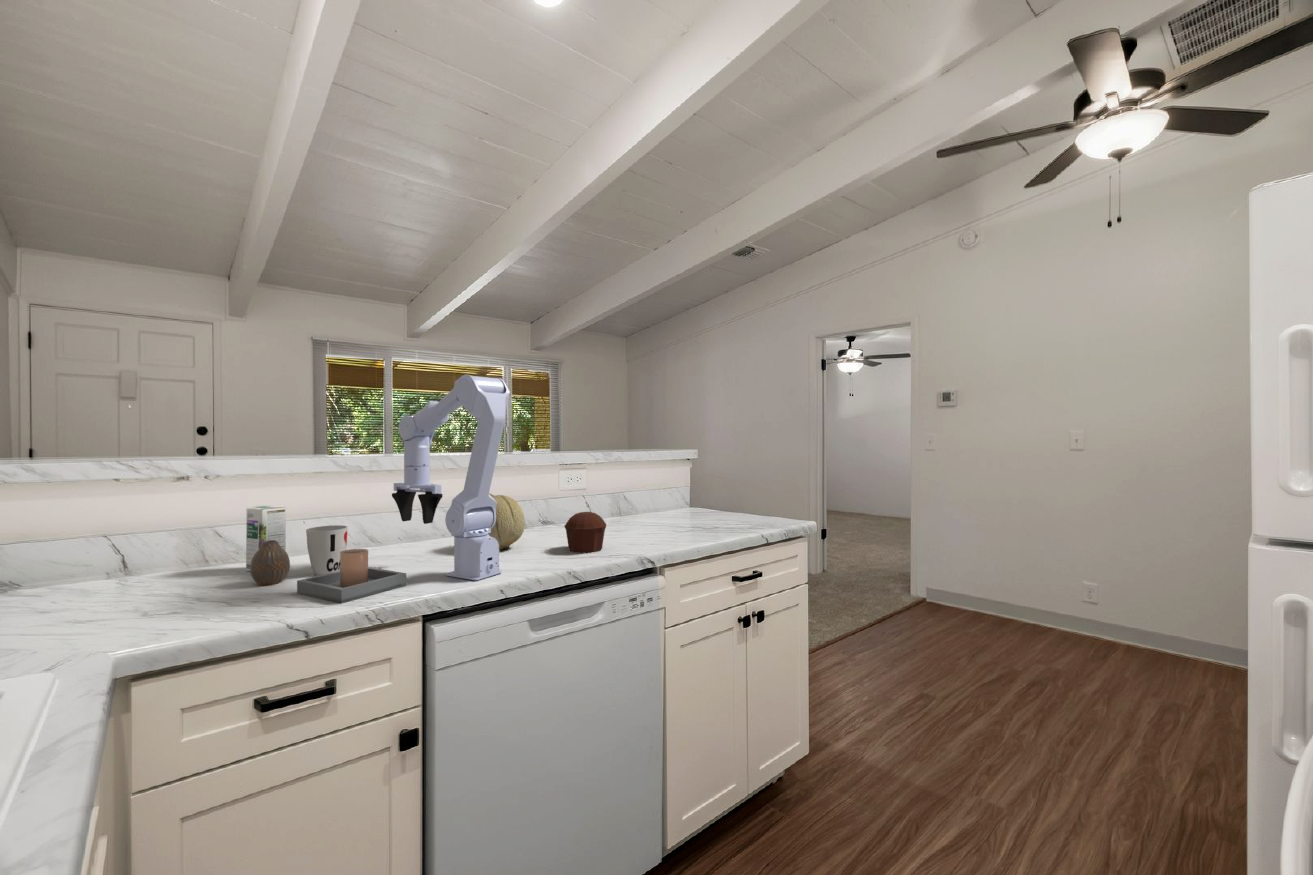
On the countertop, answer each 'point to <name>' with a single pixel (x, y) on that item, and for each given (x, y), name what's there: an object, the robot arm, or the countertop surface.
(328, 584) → the grey tray
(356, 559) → the terracotta cup
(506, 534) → the cantaloupe
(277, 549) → the vase
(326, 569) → the cup
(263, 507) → the syrup box
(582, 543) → the muffin
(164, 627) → the countertop surface
